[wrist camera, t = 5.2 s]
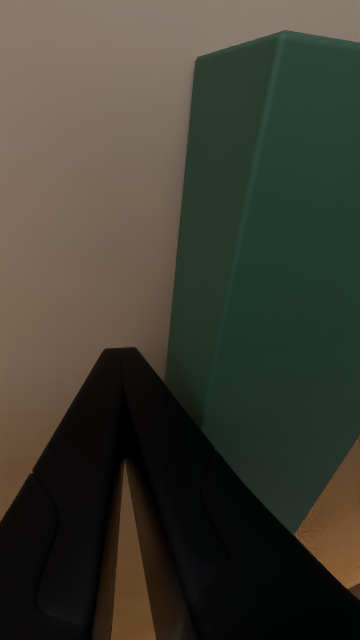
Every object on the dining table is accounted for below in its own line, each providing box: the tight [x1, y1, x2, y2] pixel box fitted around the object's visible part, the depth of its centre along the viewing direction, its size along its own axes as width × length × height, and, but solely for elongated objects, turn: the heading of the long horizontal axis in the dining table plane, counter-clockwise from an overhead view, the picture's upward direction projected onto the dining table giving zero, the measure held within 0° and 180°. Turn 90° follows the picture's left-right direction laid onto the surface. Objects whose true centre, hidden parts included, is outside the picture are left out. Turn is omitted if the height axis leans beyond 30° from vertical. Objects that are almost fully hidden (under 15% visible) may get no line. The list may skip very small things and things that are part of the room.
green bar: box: [165, 30, 360, 535], centre depth 8 cm, size 12×4×4 cm, turn 175°
